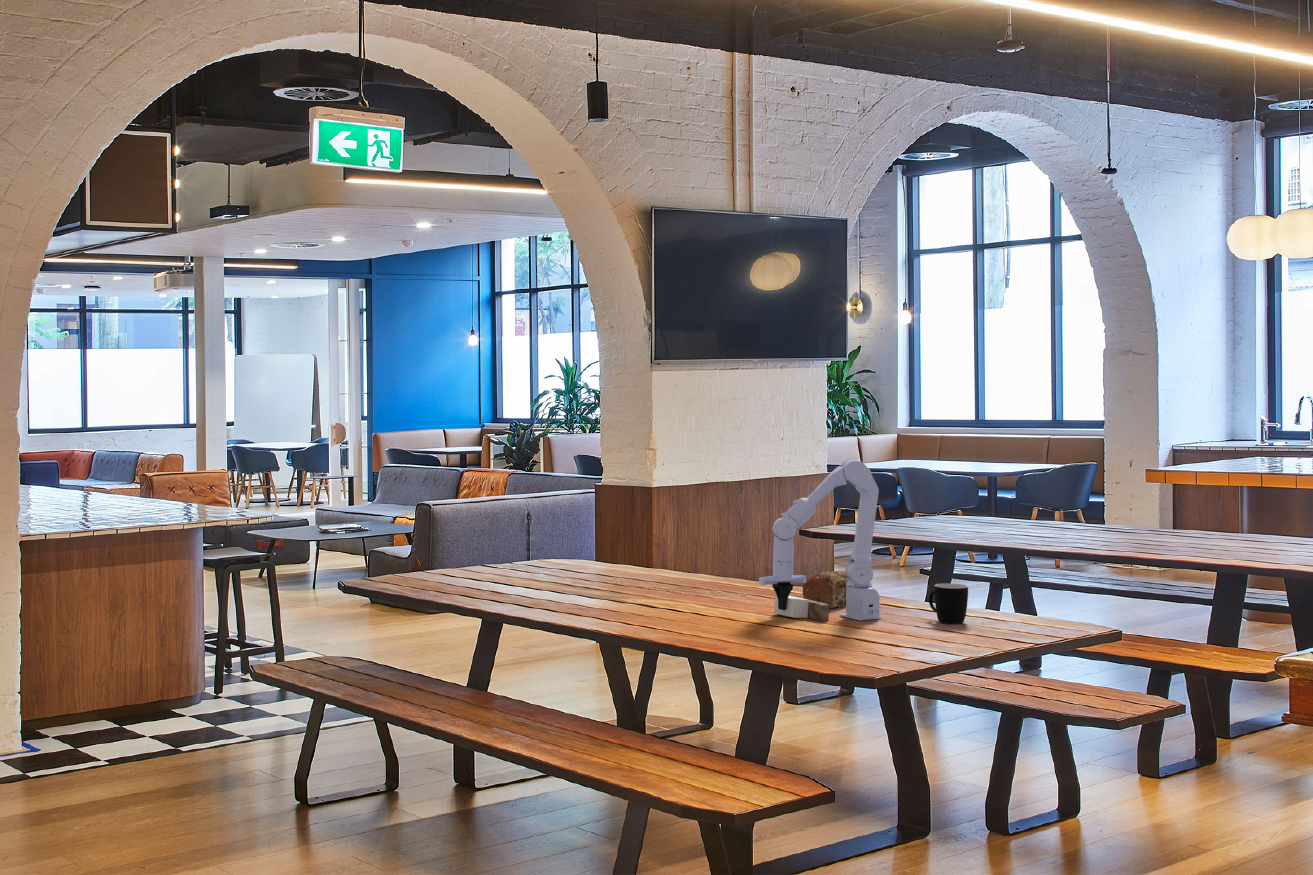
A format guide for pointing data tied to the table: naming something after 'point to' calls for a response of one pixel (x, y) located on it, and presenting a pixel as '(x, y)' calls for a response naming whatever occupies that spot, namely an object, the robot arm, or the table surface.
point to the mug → (950, 602)
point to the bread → (827, 588)
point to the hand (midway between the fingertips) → (782, 609)
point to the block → (793, 607)
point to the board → (817, 610)
